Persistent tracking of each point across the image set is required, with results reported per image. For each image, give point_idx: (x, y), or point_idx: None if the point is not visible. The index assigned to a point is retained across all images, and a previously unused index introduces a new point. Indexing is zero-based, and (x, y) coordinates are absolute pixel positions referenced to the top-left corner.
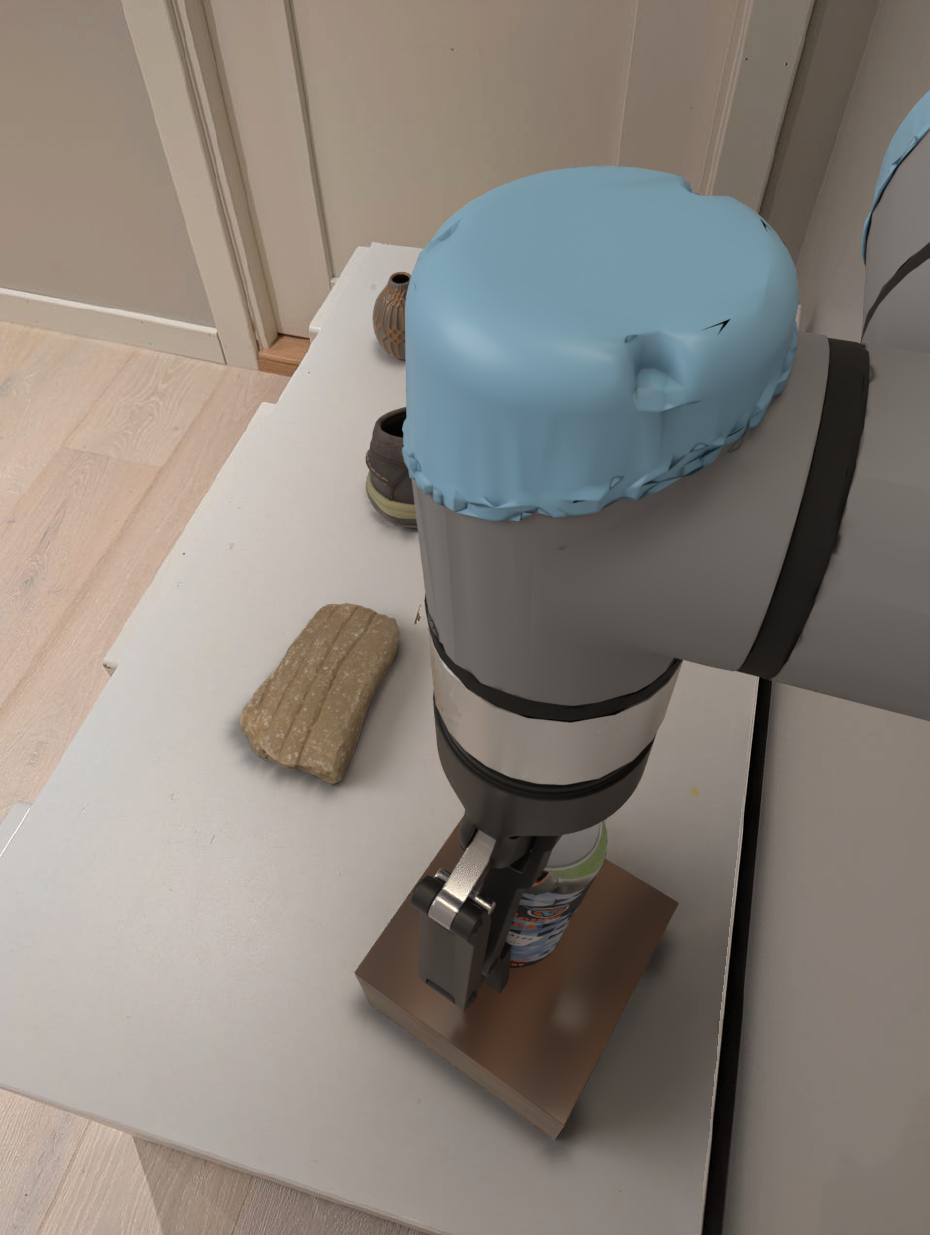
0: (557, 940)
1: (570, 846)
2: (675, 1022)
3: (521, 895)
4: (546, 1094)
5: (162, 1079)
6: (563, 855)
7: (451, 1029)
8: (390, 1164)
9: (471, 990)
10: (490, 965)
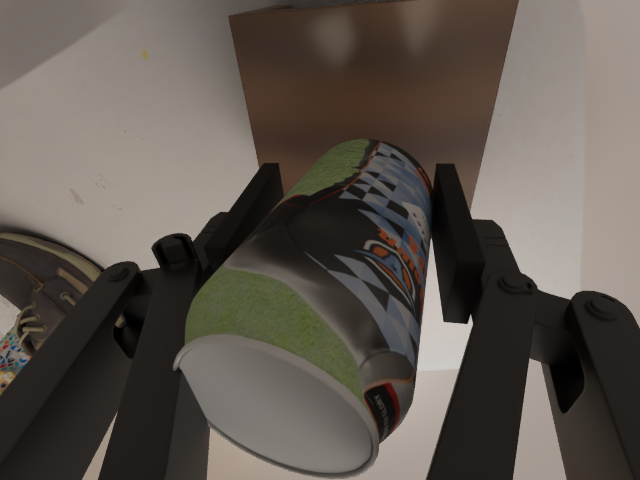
0: (378, 159)
1: (287, 381)
2: None
3: (449, 436)
4: (494, 31)
5: (551, 261)
6: (314, 394)
7: (472, 152)
8: (555, 107)
9: (629, 354)
10: (534, 309)
